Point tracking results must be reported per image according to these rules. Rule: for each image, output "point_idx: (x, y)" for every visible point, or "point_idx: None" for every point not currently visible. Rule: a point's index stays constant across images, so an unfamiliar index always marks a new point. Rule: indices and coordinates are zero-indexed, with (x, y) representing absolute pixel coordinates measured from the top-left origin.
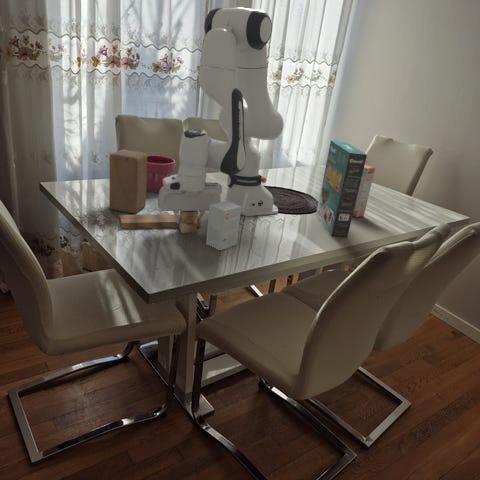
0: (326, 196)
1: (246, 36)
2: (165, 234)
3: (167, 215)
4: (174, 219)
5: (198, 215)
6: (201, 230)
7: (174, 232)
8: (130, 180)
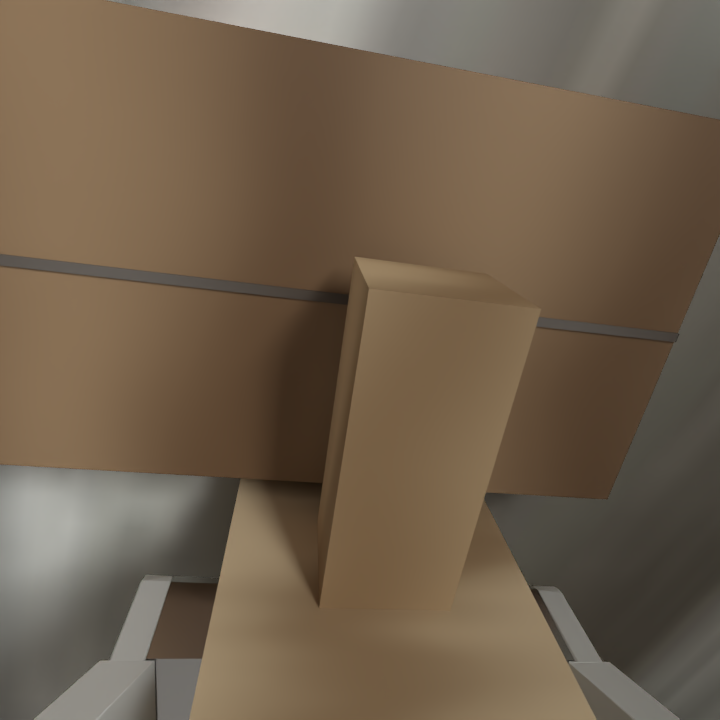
0: None
1: None
2: (14, 594)
3: (39, 74)
4: (173, 362)
5: (591, 683)
6: (512, 534)
7: (147, 555)
8: None
